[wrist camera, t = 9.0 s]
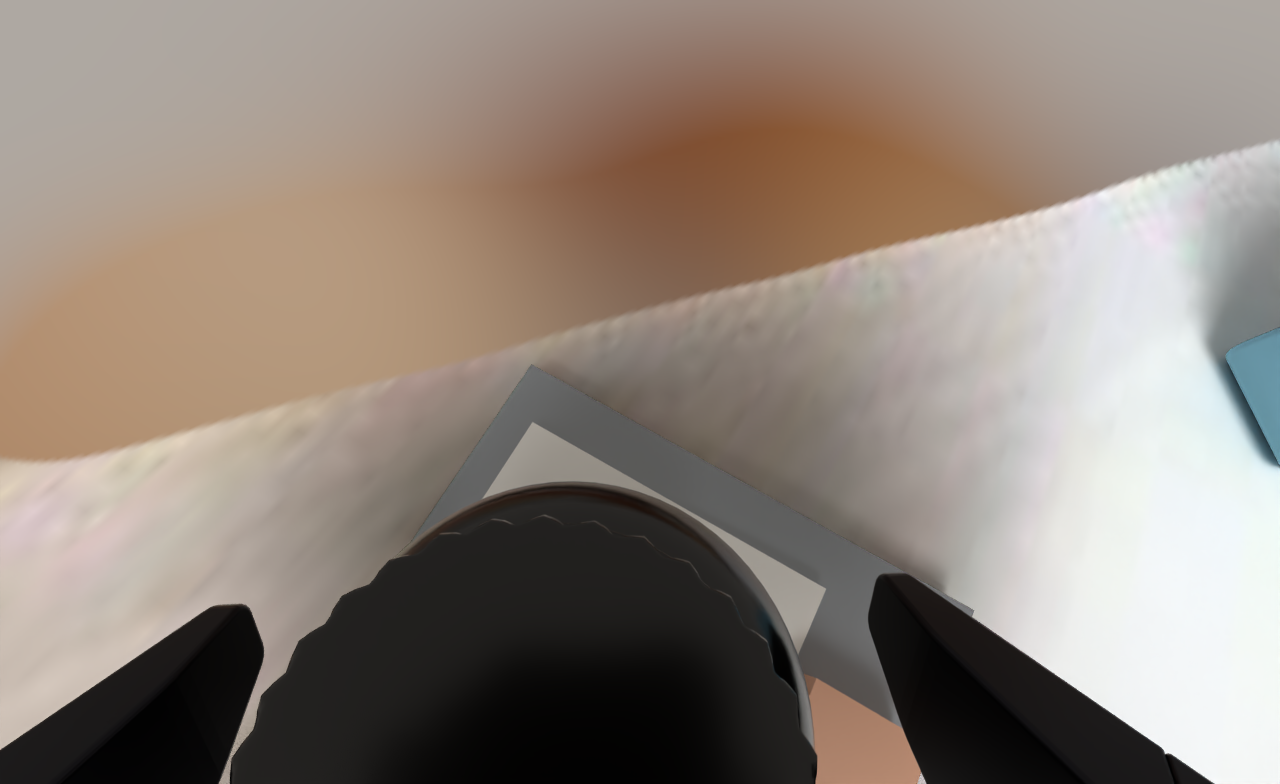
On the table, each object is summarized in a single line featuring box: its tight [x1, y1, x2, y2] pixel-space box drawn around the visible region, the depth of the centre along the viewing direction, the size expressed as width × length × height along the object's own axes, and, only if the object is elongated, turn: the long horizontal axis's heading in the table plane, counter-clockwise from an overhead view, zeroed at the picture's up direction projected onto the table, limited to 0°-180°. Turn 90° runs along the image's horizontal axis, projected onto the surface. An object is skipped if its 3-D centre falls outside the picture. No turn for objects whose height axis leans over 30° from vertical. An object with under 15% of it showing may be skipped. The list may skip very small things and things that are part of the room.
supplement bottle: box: [230, 481, 818, 784], centre depth 10 cm, size 7×7×12 cm
